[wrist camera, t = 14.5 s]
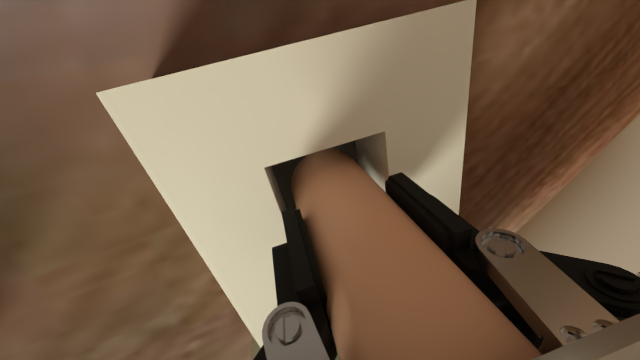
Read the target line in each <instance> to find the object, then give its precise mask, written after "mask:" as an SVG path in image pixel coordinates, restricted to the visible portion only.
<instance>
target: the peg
mask: <svg viewBox="0 0 640 360" xmlns="http://www.w3.org/2000/svg"><path fill="white" fill-rule="evenodd" d="M291 190H292V194H293V198H294V201H295V205H296V208H297V209H300V211H301V214H302V218H303V221H304V224H305V227H306V231H307V234H308V237H309V240H310V244H311V247H312V250H313V253H314V257H315V260H316V263H317V266H318V270H319V273H320V276H321V279H322V283H323V286H324V289H325V292H326V296H327V304H326V312H327V316H328V320H329V323H330V327H331V330H332V334H333V337H334V341H335V344H336V348H337V351H338V355H339V358H340V360H533V359H535V358H537V357H539V356H542V354H541V353H540V351H539V350H538V349H537V348H536V347H535V346H534V345H533V344H532V343H531V342H530V341H529V340H528V339H527V338H526V337H525V336H524V335H523V334H522V333H521V332H520V331H519V330H518V329H517V328H516V327H515V326H514V325H513V324H512V323H511V321H510V320H509V319H508V318H507V317H506V316H505V315H504V314H503V313H502V312H501V311H500V310H499V309H498V308H497V307H496V306H495V305H494V304H493V303H492V302H491V301H490V300H489V299H488V298H487V297H486V296H485V295H484V294H483V293H482V291H481V290H480V289H479V288H478V287H477V286H476V285H475V284H474V283H473V282H472V281H471V280H470V279H469V278H468V277H467V276H466V275H465V274H464V273H463V272H462V271H461V270H460V269H459V268H458V267H457V266H456V265H455V264H454V263H453V261H452V260H451V259H450V258H449V257H448V256H447V255H446V254H445V253H444V252H443V251H442V250H441V249H440V248H439V247H438V246H437V245H436V244H435V243H434V242H433V241H432V240H431V239H430V238H429V237H428V236H427V235H426V234H425V232H424V231H423V230H422V229H421V228H420V227H419V226H418V225H417V224H416V223H415V222H414V221H413V220H412V219H411V218H410V217H409V216H408V215H407V214H406V213H405V212H404V211H403V210H402V209H401V208H400V207H399V206H398V205H397V204H396V202H395V201H394V200H393V199H392V198H391V197H390V196H389V195H388V194H387V193H386V192H385V191H384V190H383V189H382V188H381V187H380V186H379V185H378V184H377V183H376V182H375V181H374V180H373V179H372V178H371V177H370V176H369V175H368V174H367V172H366V171H365V170H364V169H363V168H362V167H361V166H360V165H359V164H358V163H357V162H356V161H355V160H354V159H353V158H352V157H351V156H350V155H349V154H347V153H346V152H344V151H341V150H338V149H332V148H328V149H325V150H321V151H318V152H315V153H311V154H309V155H307V156H306V157H304V158H303V159H302V160H301V161H300V162H299V163H298V165H297V166H296V168H295V170H294V172H293V174H292V178H291Z"/></svg>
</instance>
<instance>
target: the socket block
mask: <svg viewBox="0 0 640 360" xmlns="http://www.w3.org/2000/svg"><path fill="white" fill-rule="evenodd" d="M476 1H477V0H465V1H461V2H457V3H453V4H449V5H445V6H441V7H437V8H433V9H429V10H425V11H421V12H417V13H413V14H409V15H405V16H401V17H397V18H393V19H389V20H385V21H381V22H377V23H373V24H369V25H365V26H361V27H357V28H353V29H349V30H345V31H341V32H337V33H333V34H329V35H325V36H321V37H317V38H313V39H309V40H305V41H301V42H297V43H293V44H289V45H285V46H281V47H277V48H273V49H269V50H265V51H261V52H257V53H253V54H249V55H245V56H241V57H237V58H233V59H229V60H225V61H221V62H217V63H213V64H209V65H205V66H201V67H197V68H193V69H189V70H185V71H181V72H177V73H173V74H169V75H165V76H161V77H157V78H153V79H149V80H145V81H141V82H137V83H133V84H129V85H125V86H121V87H117V88H113V89H109V90H105V91H101V92H97V93H96V94H97V96H98V97H99V99H100V101H101V102H102V104H103V105H104V107H105V108H106V110H107V111H108V113H109V114H110V116H111V118H112V119H113V121H114V122H115V124H116V125H117V127H118V128H119V130H120V131H121V133H122V135H123V136H124V138H125V139H126V141H127V142H128V144H129V145H130V147H131V148H132V150H133V152H134V153H135V155H136V156H137V158H138V159H139V161H140V162H141V164H142V165H143V167H144V169H145V170H146V172H147V173H148V175H149V176H150V178H151V179H152V181H153V182H154V184H155V186H156V187H157V189H158V190H159V192H160V193H161V195H162V196H163V198H164V199H165V201H166V203H167V204H168V206H169V207H170V209H171V210H172V212H173V213H174V215H175V216H176V218H177V220H178V221H179V223H180V224H181V226H182V227H183V229H184V230H185V232H186V233H187V235H188V237H189V238H190V240H191V241H192V243H193V244H194V246H195V247H196V249H197V250H198V252H199V254H200V255H201V257H202V258H203V260H204V261H205V263H206V264H207V266H208V267H209V269H210V271H211V272H212V274H213V275H214V277H215V278H216V280H217V281H218V283H219V284H220V286H221V288H222V289H223V291H224V292H225V294H226V295H227V297H228V298H229V300H230V301H231V303H232V305H233V306H234V308H235V309H236V311H237V312H238V314H239V315H240V317H241V318H242V320H243V322H244V323H245V325H246V326H247V328H248V329H249V331H250V332H251V334H252V335H253V337H254V339H255V340H256V342H257V343H258V345H259V346H260V348H261V347H262V346H263V340H262V329H263V325H264V322H265V320H266V318H267V316H268V315H269V314H270V313H271V312H272V310H273V309H275V308H276V307H277V297H276V287H275V277H274V267H273V257H272V247H275V246H278V245H281V244H284V243H287V240H286V235H285V229H284V224H283V218H282V213H281V211H283V210H286V209H289V208H292V207H294V209H295V210H297V208H296V205H295V201H294V198H293V194H292V190H291V178H292V174H293V172H294V170H295V168H296V166H297V165H298V163H299V162H300V161H301V160H302V159H303V158H304V157H306V156H307V155H309V154H311V153H315V152H318V151H321V150H325V149H328V148H332V149H338V150H341V151H344V152H346V153H347V154H349V155H350V156H351V157H352V158H353V159H354V160H355V161H356V162H357V163H358V164H359V165H360V166H361V167H362V168H363V169H364V170H365V171H366V172H367V174H368V175H369V176H370V177H371V178H372V179H373V180H374V181H375V182H376V183H377V184H378V185H379V186H380V187H381V188H382V189H383V190H384V191H385V192H386V190H385V181H386V180H388V177H389V176H391V175H394V174H397V173H400V172H402V173H404V174H405V175H406V176H407V177H409V178H410V179H411V180H412V181H414V182H415V183H416V184H418V185H419V186H420V187H421V188H423V189H424V190H425V191H426V192H428V193H429V194H430V195H433V196H434V197H436V198H437V199H438V200H440V201H441V202H442V203H443V204H445V205H446V206H447V207H449V208H450V209H451V210H452V211H454V212H455V213H456V214H457V215H459V205H460V193H461V181H462V169H463V157H464V145H465V133H466V121H467V109H468V97H469V85H470V73H471V61H472V49H473V37H474V25H475V13H476Z"/></svg>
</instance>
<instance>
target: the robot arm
mask: <svg viewBox="0 0 640 360" xmlns="http://www.w3.org/2000/svg"><path fill="white" fill-rule="evenodd" d="M385 190H386V193H387V194H388V195H389V196H390V197H391V198H392V199H393V200H394V201H395V202H396V204H397V205H398V206H399V207H400V208H401V209H402V210H403V211H404V212H405V213H406V214H407V215H408V216H409V217H410V218H411V219H412V220H413V221H414V222H415V223H416V224H417V225H418V226H419V227H420V228H421V229H422V230H423V231H424V232H425V234H426V235H427V236H428V237H429V238H430V239H431V240H432V241H433V242H434V243H435V244H436V245H437V246H438V247H439V248H440V249H441V250H442V251H443V252H444V253H445V254H446V255H447V256H448V257H449V258H450V259H451V260H452V261H453V263H454V264H455V265H456V266H457V267H458V268H459V269H460V270H461V271H462V272H463V273H464V274H465V275H466V276H467V277H468V278H469V279H470V280H471V281H472V282H473V283H474V284H475V285H476V286H477V287H478V288H479V289H480V290H481V291H482V293H483V294H484V295H485V296H486V297H487V298H488V299H489V300H490V301H491V302H492V303H493V304H494V305H495V306H496V307H497V308H498V309H499V310H500V311H501V312H502V313H503V314H504V315H505V316H506V317H507V318H508V319H509V320H510V321H511V323H512V324H513V325H514V326H515V327H516V328H517V329H518V330H519V331H520V332H521V333H522V334H523V335H524V336H525V337H526V338H527V339H528V340H529V341H530V342H531V343H532V344H533V345H534V346H535V347H536V348H537V349H538V350H539V351H540V353H541V354H542V356H539V357H537V358H535V359H533V360H640V272H638V273H637V275H635V274H633V273H631V272H629V271H627V270H624V269H622V268H620V267H616V266H613V265H609V264H604V263H599V262H594V261H590V260H585V259H579V258H573V257H569V256H564V255H559V254H553V253H548V252H543V251H538V250H537V249H536V248H535V247H534V246H533V245H531V244H530V243H529V242H528V241H527V240H526V239H524V238H523V237H521V236H520V235H518V234H516V233H514V232H512V231H508V230H505V229H498V228H491V229H485V230H482V231H480V232H479V231H478V230H477V229H475V228H474V227H473V226H472V225H470V224H469V223H468V222H466V221H465V220H464V219H463V218H461V217H460V216H459V215H457V214H456V213H455V212H454V211H452V210H451V209H450V208H449V207H447V206H446V205H445V204H443V203H442V202H441V201H440V200H438V199H437V198H436V197H434V196H433V195H430V194H429V193H428V192H426V191H425V190H424V189H423V188H421V187H420V186H419V185H418V184H416V183H415V182H414V181H412V180H411V179H410V178H409V177H407V176H406V175H405V174H404V173H402V172H400V173H397V174H394V175H391V176H389V177H388V180H386V181H385ZM281 213H282V218H283V224H284V229H285V235H286V240H287V243H284V244H281V245H278V246H275V247H272V257H273V267H274V277H275V287H276V297H277V307H276V308H275V309H273V310H272V312H271V313H270V314H269V315H268V316H267V318H266V320H265V322H264V325H263V329H262V340H263V346H262V347H261V349H260V350H259V352H258V353H257V355H256V356H255V358H254V359H253V360H335V359H336V357H337V350H336V349H337V348H336V344H335V341H334V337H333V334H332V330H331V327H330V323H329V320H328V316H327V312H326V304H327V296H326V292H325V289H324V286H323V283H322V279H321V276H320V273H319V270H318V266H317V263H316V260H315V257H314V253H313V250H312V247H311V244H310V240H309V237H308V234H307V231H306V227H305V224H304V221H303V218H302V214H301V211H300V209H297V210H295V209H294V207H292V208H289V209H286V210H283V211H281Z"/></svg>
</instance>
